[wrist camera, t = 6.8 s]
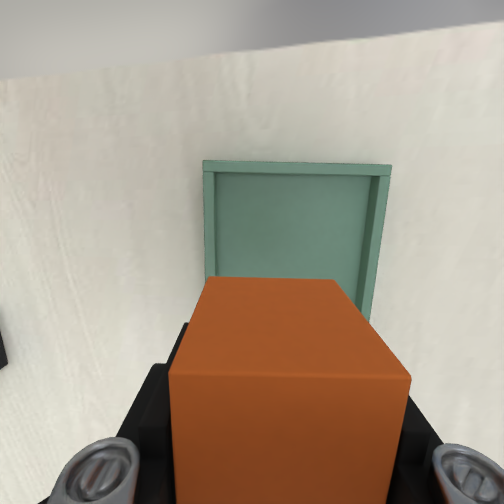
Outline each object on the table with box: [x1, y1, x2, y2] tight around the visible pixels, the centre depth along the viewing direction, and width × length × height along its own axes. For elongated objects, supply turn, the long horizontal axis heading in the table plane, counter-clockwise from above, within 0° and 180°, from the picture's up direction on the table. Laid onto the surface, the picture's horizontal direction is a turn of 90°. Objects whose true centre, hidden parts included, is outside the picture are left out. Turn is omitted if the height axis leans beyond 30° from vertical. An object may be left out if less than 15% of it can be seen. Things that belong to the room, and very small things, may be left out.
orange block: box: [168, 276, 412, 504], centre depth 8 cm, size 6×4×4 cm, turn 178°
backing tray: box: [203, 160, 392, 322], centre depth 24 cm, size 20×14×2 cm
